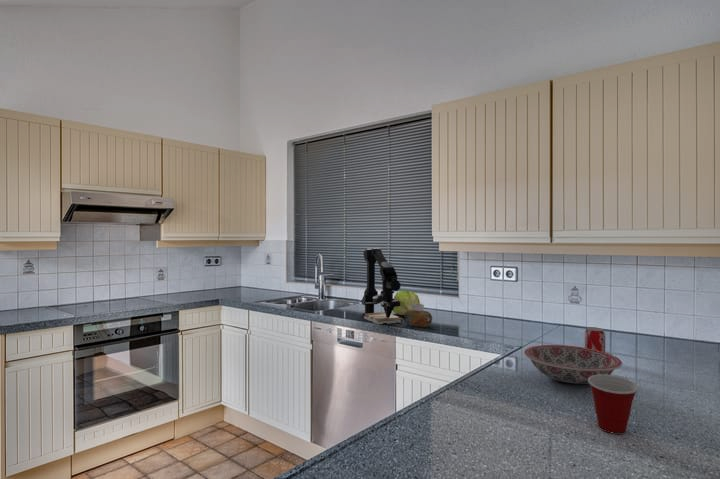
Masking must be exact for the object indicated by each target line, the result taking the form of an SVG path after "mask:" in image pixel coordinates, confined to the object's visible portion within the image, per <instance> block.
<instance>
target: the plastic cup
mask: <svg viewBox="0 0 720 479" xmlns="http://www.w3.org/2000/svg"><path fill="white" fill-rule="evenodd" d="M588 382H589V384H588V385H590V389H591V393H592V396H593V397H592V399H593V403H594V404H593V405H594V410H595V414H596V420H597V425H598V428H599V427H600V428H601V429H603V430H606V431H609V432H613V433H624V432H625V433H626V431H627V427H628V424H629V423H628V422H629V419H630V415H631V410H632V406H633V401H634V397H635V395H636V392H638V391H639V385H638V384H637V383H636V382H635V381H632V380H630V379H628V378H625V377H622V376H618V375H612V374H610V375H602V374H599V375H593V376H590V377H589V378H588ZM600 428H599V429H600ZM601 429H600V430H601ZM603 430H602V431H603ZM625 433H624V434H625Z"/></svg>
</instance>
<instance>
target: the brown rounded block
mask: <svg viewBox="0 0 720 479" xmlns="http://www.w3.org/2000/svg"><path fill="white" fill-rule="evenodd" d="M403 316H404V317H403V318H404V319H403V320H404V322H405V323H406V325H407V326H409V325H410V327H418V326H419V327H421V328H426V327H429V326H431V324H432V322H433V317H432V314H431V312H429V311H427V310H424V311H419V310H409V311H407V312H406V313H405V315H403Z"/></svg>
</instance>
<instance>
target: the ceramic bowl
mask: <svg viewBox="0 0 720 479" xmlns="http://www.w3.org/2000/svg"><path fill="white" fill-rule="evenodd" d="M523 354H524V356H525V357H526V358H527V359H529V360H530V361H531V363H532V364H533V366H534V367H535V368H536V369H537V370H538V371H539V372H540V373H541V374H543V375H544V376H546V377H548V378H550V379H552V380H556V381H559V382H563V383H568V384H575V385H576V384H577V385H585V384H586V385H590V384H589V382H588V378H589V377H590V376H593V375H599V374H602V375H612V373H613V372H614V371H615V370H617V369H619V368H621V367H622V365H623V362H622V360H621V359H620V358H619V357H617V356H615V355H613V354H611V353H607V352H606V351H605V352H602V351H598V350H593V349H589V348H585V347H582V346H575V345H563V344H562V345H561V344H542V345H534V346H530V347H528V348H526V349H525V350H524V351H523Z"/></svg>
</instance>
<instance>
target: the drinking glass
mask: <svg viewBox="0 0 720 479" xmlns="http://www.w3.org/2000/svg"><path fill="white" fill-rule="evenodd" d="M412 310H419V311H425V304H424V303H420V304H412Z"/></svg>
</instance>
